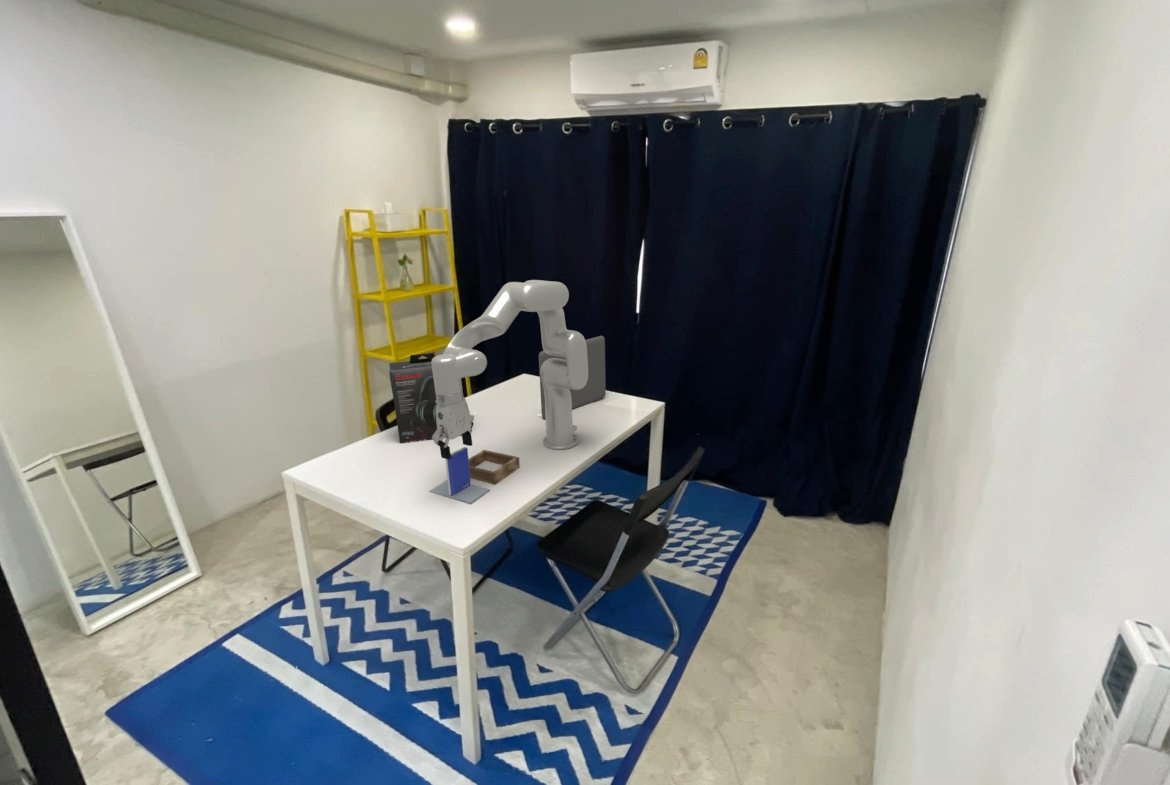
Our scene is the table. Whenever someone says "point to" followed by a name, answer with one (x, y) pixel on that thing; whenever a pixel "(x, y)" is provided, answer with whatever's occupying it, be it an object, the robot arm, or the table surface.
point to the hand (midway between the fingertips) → (457, 451)
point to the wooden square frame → (498, 475)
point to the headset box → (414, 398)
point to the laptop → (596, 375)
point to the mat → (461, 492)
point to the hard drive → (458, 471)
